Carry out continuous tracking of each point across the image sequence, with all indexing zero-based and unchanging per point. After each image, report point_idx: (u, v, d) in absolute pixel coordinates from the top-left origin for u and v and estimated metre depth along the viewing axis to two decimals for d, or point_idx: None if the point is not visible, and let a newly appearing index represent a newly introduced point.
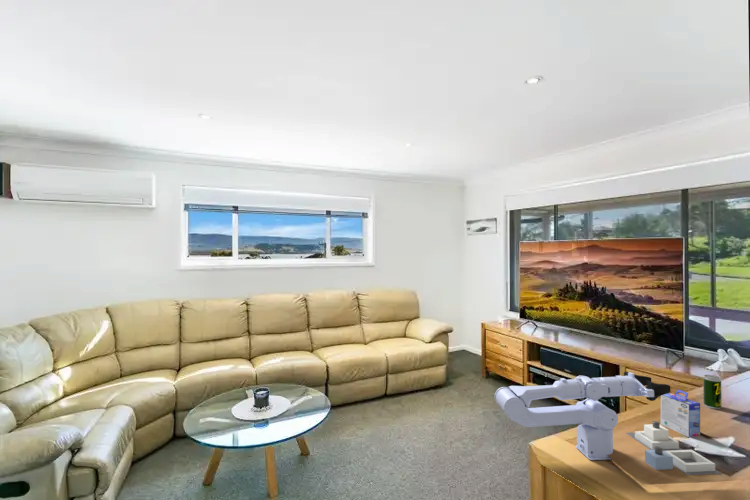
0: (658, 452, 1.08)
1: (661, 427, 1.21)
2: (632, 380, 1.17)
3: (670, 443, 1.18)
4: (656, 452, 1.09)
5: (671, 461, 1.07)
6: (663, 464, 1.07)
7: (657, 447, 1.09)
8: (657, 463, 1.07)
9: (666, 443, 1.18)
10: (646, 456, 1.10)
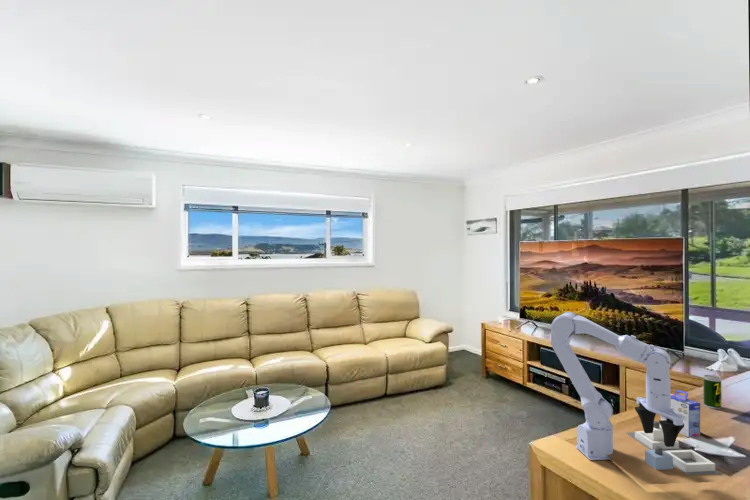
0: (658, 452, 1.08)
1: (661, 427, 1.21)
2: (670, 407, 1.07)
3: None
4: (656, 452, 1.09)
5: (671, 461, 1.07)
6: (663, 464, 1.07)
7: (657, 447, 1.09)
8: (657, 463, 1.07)
9: None
10: (646, 456, 1.10)
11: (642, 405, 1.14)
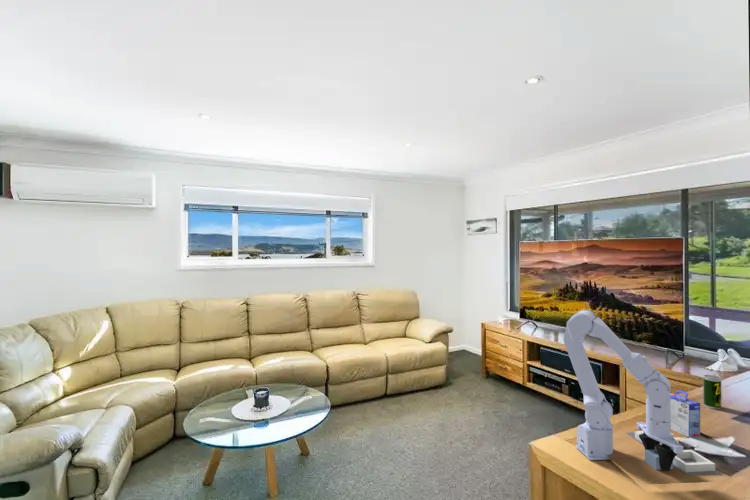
0: None
1: None
2: (670, 434, 1.07)
3: None
4: (656, 452, 1.09)
5: None
6: None
7: None
8: (657, 463, 1.07)
9: None
10: (646, 455, 1.10)
11: (642, 430, 1.14)
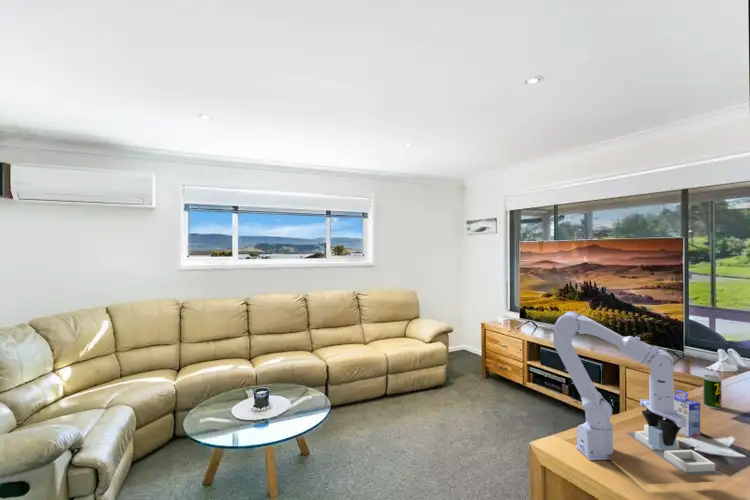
0: None
1: None
2: (674, 409, 1.07)
3: None
4: (659, 428, 1.09)
5: None
6: None
7: None
8: (660, 439, 1.07)
9: None
10: (649, 432, 1.10)
11: None
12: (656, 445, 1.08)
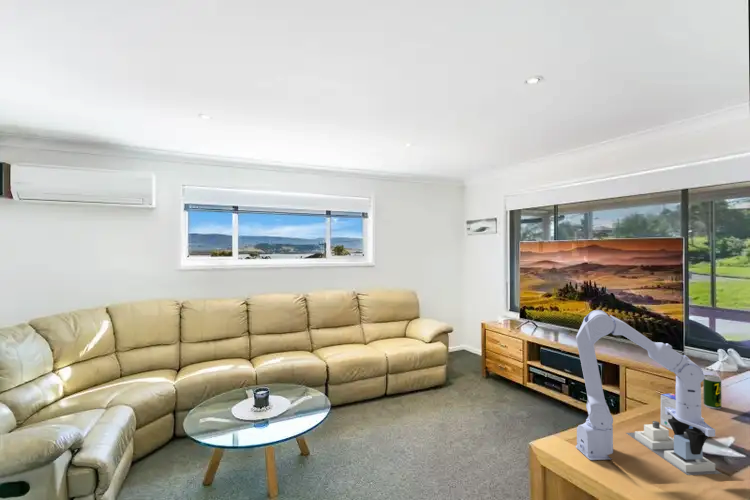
0: (687, 437, 1.09)
1: (661, 427, 1.21)
2: (701, 418, 1.08)
3: (670, 443, 1.18)
4: (685, 437, 1.09)
5: None
6: None
7: (686, 432, 1.10)
8: (687, 448, 1.07)
9: (666, 443, 1.18)
10: (675, 441, 1.11)
11: (671, 415, 1.14)
12: (682, 454, 1.08)
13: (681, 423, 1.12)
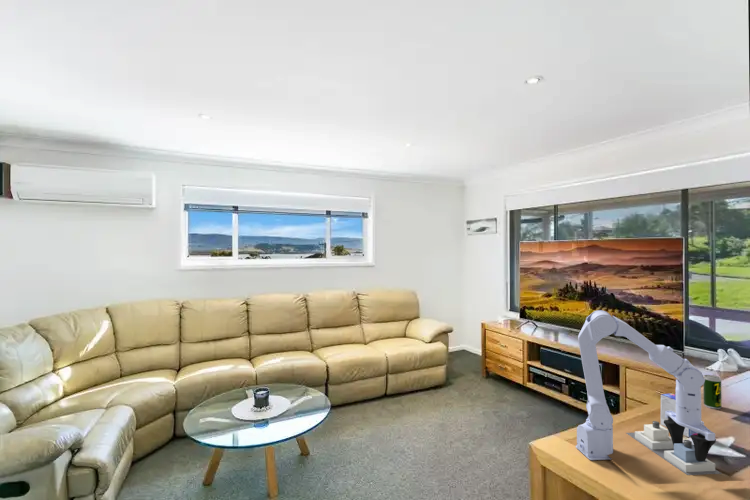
0: (687, 445, 1.09)
1: (661, 427, 1.21)
2: (701, 421, 1.08)
3: (670, 443, 1.18)
4: (685, 445, 1.09)
5: None
6: (692, 458, 1.07)
7: (686, 440, 1.10)
8: (687, 457, 1.07)
9: (666, 443, 1.18)
10: (675, 449, 1.11)
11: (671, 419, 1.14)
12: None
13: (677, 424, 1.13)
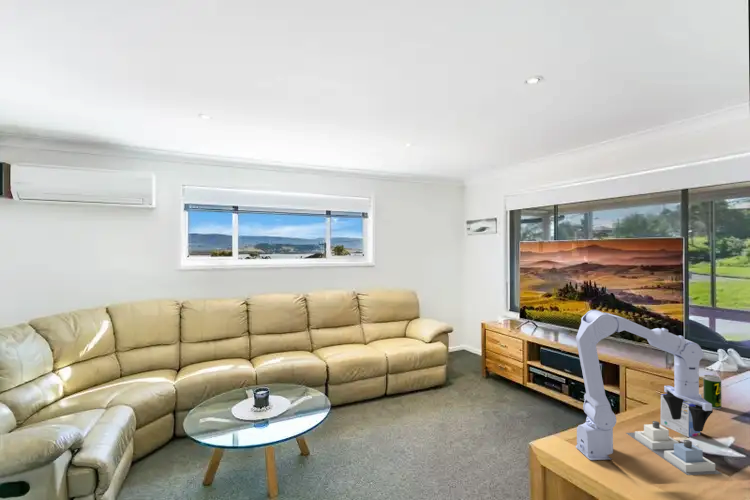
0: (687, 445, 1.09)
1: (661, 427, 1.21)
2: (698, 394, 1.13)
3: (670, 443, 1.18)
4: (685, 445, 1.09)
5: (701, 454, 1.08)
6: (692, 458, 1.07)
7: (686, 440, 1.10)
8: (687, 457, 1.07)
9: (666, 443, 1.18)
10: (675, 449, 1.11)
11: (670, 393, 1.20)
12: None
13: (675, 398, 1.18)
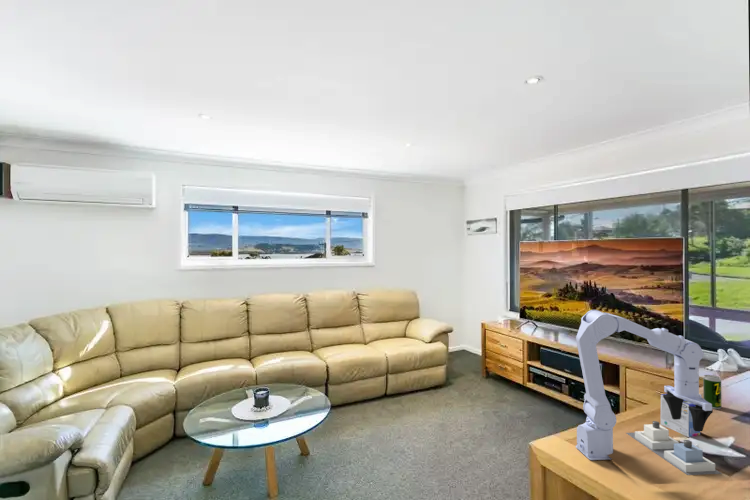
0: (687, 445, 1.09)
1: (661, 427, 1.21)
2: (698, 394, 1.13)
3: (670, 443, 1.18)
4: (685, 445, 1.09)
5: (701, 454, 1.08)
6: (692, 458, 1.07)
7: (686, 440, 1.10)
8: (687, 457, 1.07)
9: (666, 443, 1.18)
10: (675, 449, 1.11)
11: (670, 393, 1.20)
12: None
13: (675, 398, 1.18)
